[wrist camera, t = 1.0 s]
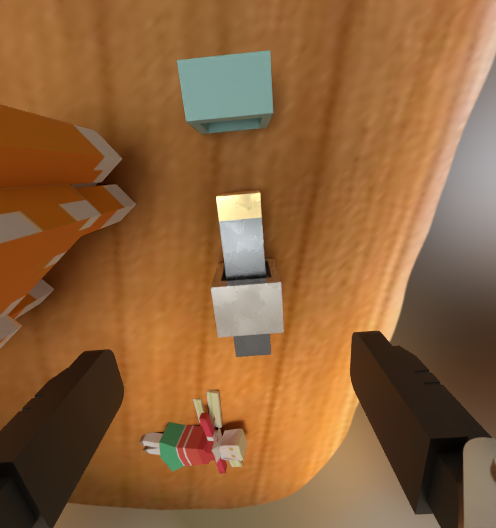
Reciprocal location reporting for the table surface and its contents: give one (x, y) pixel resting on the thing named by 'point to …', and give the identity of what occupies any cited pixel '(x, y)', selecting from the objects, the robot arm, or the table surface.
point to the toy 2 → (199, 440)
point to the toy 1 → (48, 203)
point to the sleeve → (248, 303)
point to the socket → (227, 92)
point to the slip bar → (243, 253)
